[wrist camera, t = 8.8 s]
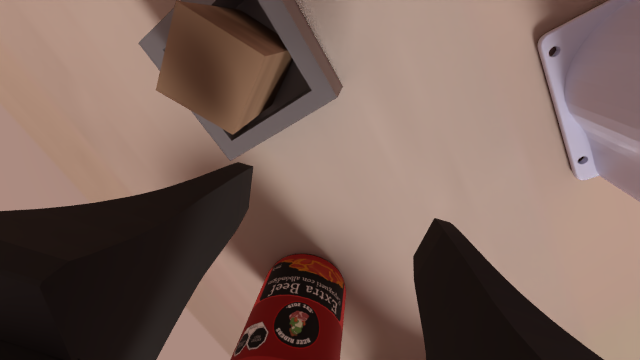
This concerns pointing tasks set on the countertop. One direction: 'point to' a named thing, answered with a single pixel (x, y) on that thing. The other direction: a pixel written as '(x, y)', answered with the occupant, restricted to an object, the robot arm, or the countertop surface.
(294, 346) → the canned food
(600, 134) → the robot arm
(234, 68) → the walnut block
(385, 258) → the countertop surface
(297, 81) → the well
